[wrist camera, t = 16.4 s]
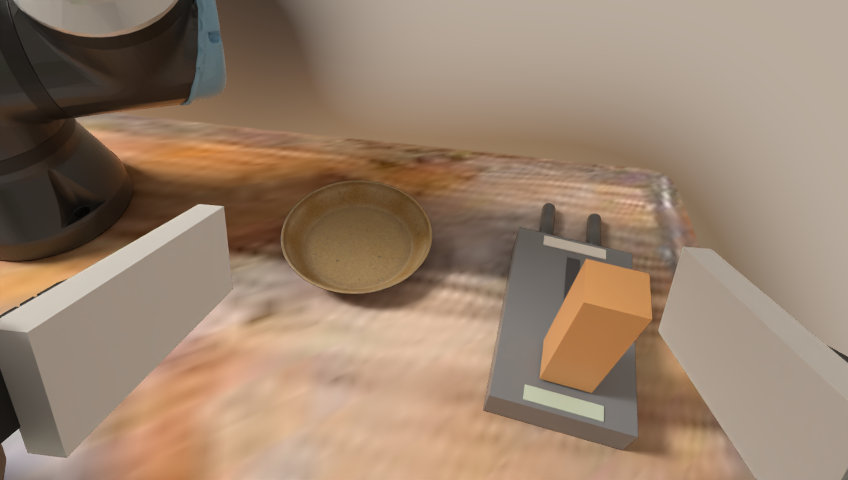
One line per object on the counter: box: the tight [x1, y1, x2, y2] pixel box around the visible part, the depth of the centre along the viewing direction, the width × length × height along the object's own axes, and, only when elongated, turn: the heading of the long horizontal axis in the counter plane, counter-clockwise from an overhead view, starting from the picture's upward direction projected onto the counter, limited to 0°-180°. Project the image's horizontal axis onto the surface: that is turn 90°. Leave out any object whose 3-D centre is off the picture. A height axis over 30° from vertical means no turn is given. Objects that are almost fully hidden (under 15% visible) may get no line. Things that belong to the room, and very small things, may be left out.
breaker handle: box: [539, 259, 652, 393], centre depth 33 cm, size 4×4×11 cm
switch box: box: [483, 203, 638, 450], centre depth 44 cm, size 25×11×3 cm, turn 165°
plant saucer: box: [281, 180, 432, 294], centre depth 47 cm, size 15×15×3 cm
